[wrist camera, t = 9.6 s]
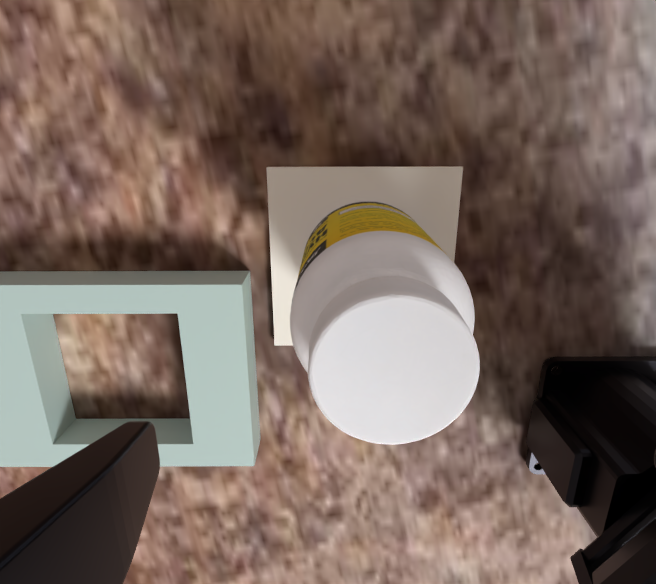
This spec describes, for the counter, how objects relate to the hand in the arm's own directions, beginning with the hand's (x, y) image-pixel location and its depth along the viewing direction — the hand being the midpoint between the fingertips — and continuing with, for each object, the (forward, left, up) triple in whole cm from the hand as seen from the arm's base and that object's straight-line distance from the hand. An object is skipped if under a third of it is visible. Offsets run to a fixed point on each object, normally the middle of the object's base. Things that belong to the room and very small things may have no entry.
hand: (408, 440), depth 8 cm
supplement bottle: (0, 0, -12) cm, 12 cm away
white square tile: (0, 0, -13) cm, 13 cm away
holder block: (+11, +5, -13) cm, 17 cm away
